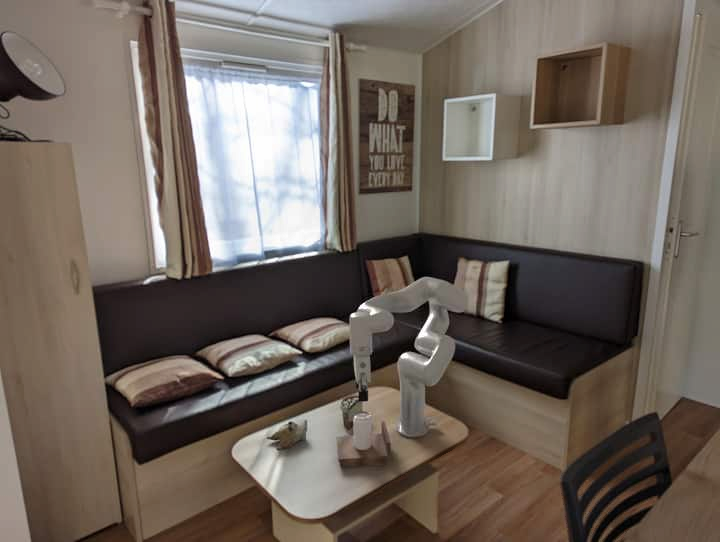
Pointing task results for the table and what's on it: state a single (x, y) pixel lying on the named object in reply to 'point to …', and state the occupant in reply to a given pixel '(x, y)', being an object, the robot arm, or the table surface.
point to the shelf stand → (372, 456)
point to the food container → (350, 410)
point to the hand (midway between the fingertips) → (361, 394)
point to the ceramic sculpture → (290, 434)
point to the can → (362, 430)
